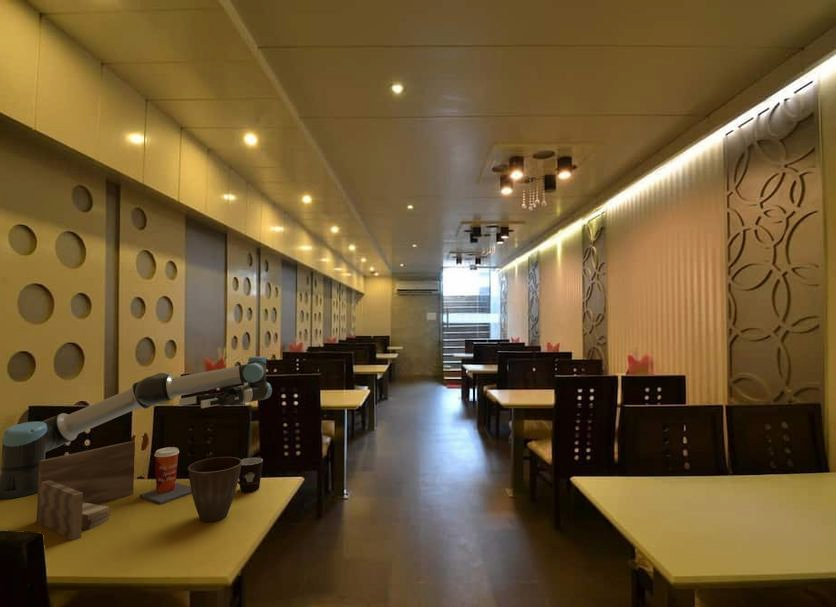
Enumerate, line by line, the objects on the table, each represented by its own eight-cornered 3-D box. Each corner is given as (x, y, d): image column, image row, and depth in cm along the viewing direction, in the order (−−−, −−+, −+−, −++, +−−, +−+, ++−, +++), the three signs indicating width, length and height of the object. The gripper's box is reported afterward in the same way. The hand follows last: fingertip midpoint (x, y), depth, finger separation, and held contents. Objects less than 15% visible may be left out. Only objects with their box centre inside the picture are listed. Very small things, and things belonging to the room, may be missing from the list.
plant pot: (251, 510, 134) (252, 459, 135) (215, 531, 120) (216, 474, 121) (213, 504, 139) (214, 455, 140) (174, 524, 125) (176, 469, 126)
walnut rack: (36, 521, 127) (39, 460, 128) (130, 492, 150) (132, 441, 151) (72, 540, 116) (75, 472, 117) (168, 506, 138) (170, 449, 139)
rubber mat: (139, 497, 146) (139, 494, 146) (176, 485, 157) (176, 482, 157) (160, 504, 139) (160, 501, 139) (198, 491, 151) (198, 489, 151)
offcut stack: (56, 526, 125) (57, 510, 125) (80, 516, 131) (81, 501, 132) (87, 531, 121) (88, 515, 122) (110, 521, 128) (111, 505, 128)
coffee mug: (266, 485, 156) (267, 457, 157) (255, 494, 147) (256, 465, 148) (236, 484, 157) (237, 457, 158) (223, 493, 149) (224, 464, 149)
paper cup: (158, 496, 145) (160, 454, 145) (149, 490, 149) (150, 450, 150) (182, 488, 151) (183, 449, 152) (172, 483, 156) (173, 445, 156)
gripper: (258, 406, 173) (210, 415, 155) (219, 402, 185) (171, 411, 167) (258, 387, 174) (211, 395, 155) (219, 385, 186) (171, 391, 168)
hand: (190, 403), depth 161 cm, fingers open, 13 cm apart
